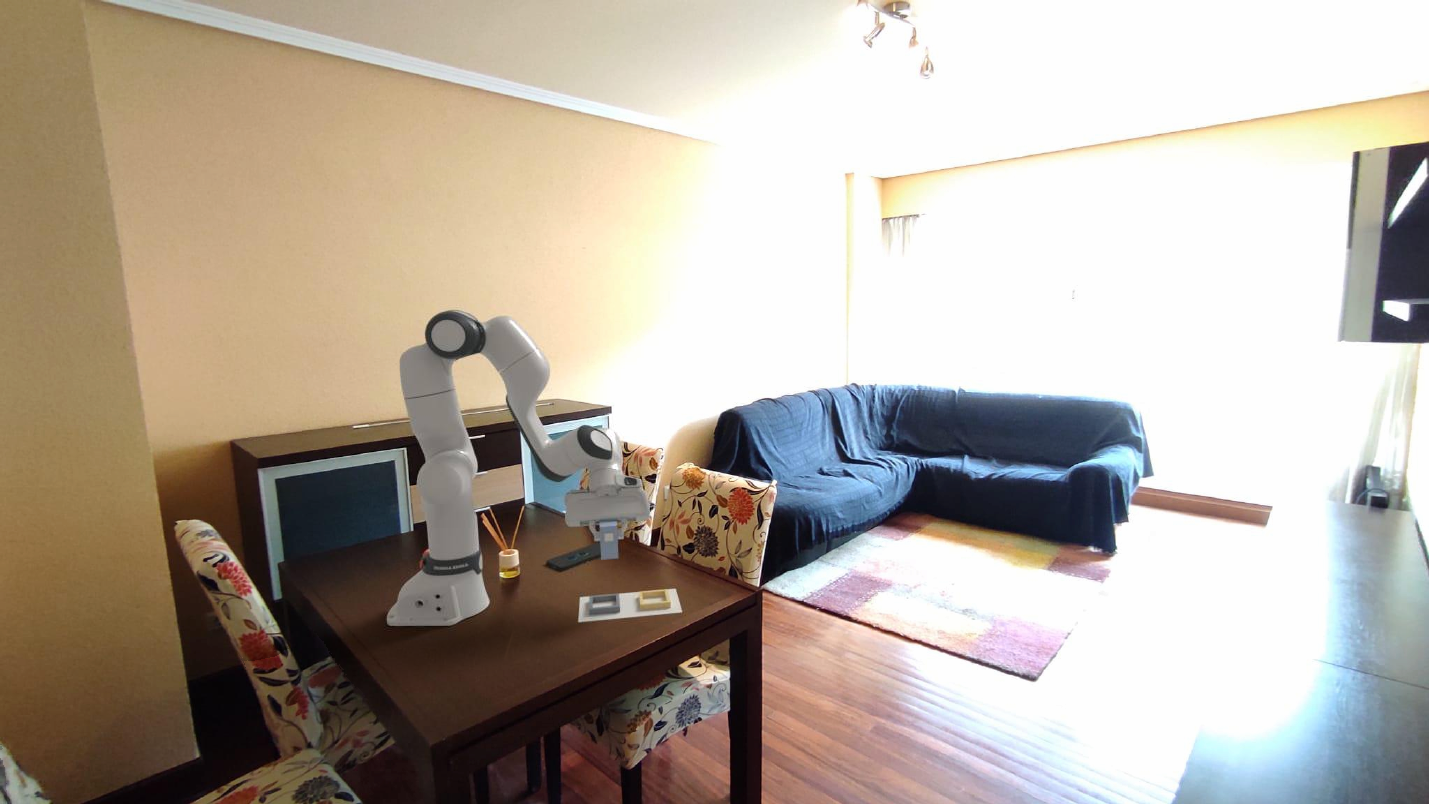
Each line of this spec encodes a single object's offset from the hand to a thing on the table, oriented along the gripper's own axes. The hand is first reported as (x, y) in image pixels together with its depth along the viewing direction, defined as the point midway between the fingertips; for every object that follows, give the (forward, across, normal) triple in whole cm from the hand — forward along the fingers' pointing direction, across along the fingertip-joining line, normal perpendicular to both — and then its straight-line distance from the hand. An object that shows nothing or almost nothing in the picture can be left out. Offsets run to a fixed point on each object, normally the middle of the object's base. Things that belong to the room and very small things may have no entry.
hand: (609, 539), depth 146 cm
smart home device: (-12, -8, +38) cm, 40 cm away
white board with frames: (+12, +4, +13) cm, 18 cm away
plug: (+3, 0, +4) cm, 4 cm away
